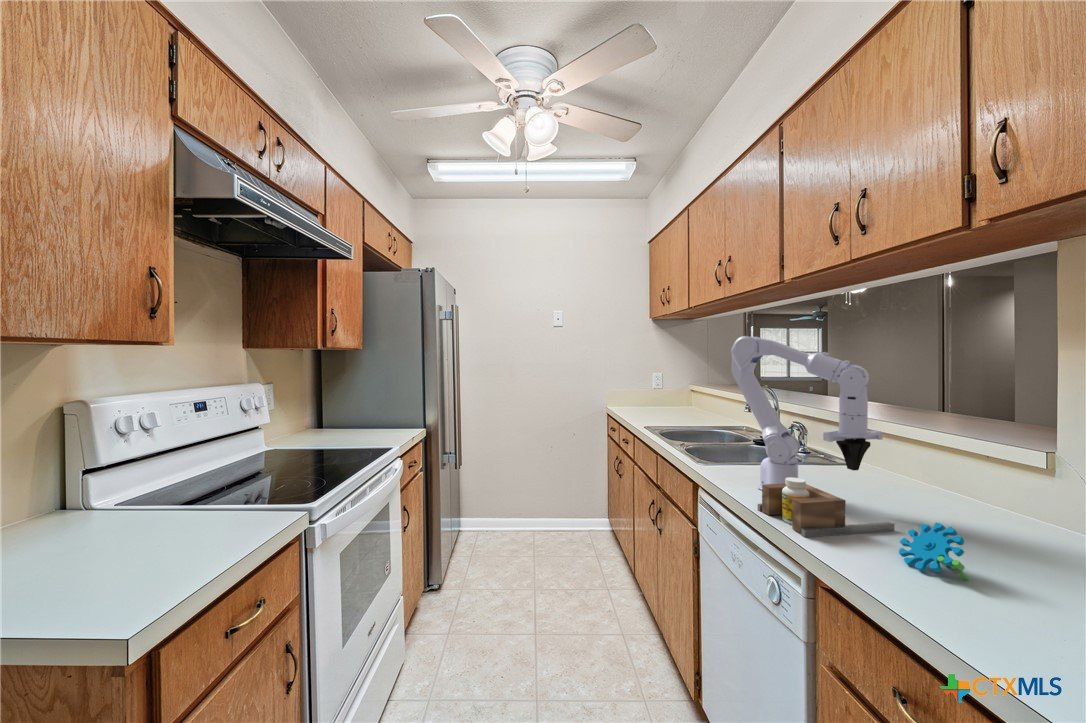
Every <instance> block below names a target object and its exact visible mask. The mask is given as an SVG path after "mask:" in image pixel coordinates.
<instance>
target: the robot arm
mask: <svg viewBox="0 0 1086 723" xmlns="http://www.w3.org/2000/svg"><path fill="white" fill-rule="evenodd" d="M730 354H731V375H732V376H733V379H734V380H735V382H736V384H737V386H738V388H739V390H740V392H741V393H742V396H743V397H744V399H745V401H746V402H747V404H748V406H749V408H750V410H751V413H752V414H753V416H754V418H755V420H756V421H757V424H758V425H759V427H760V429H761V431H762V436H761V437H762V440H763V442H764V446H765V453H766V455H767V457H765V458H763V459H762V461H761V463H760V466H759V467H760V468H759V471H760V472H759V478H760V480H759V485H757V486H756V487H757V489H759V490H761V491H762V484H781V483H785V479H786V478H789V477H793V478H799V460H798V459H797V454H798V453H799V451H800V450H801V445H800V442H799V440H798V439H797V438H796V437H795V436H794V435H792V434H791V432H790V431H789V429H788V427H787V426H785V425H784V423H782V422H781V420H780V419H779V416H778V415H777V413H776V411H775V410H774V408H773V406H772V404H771V402H770V401H769V399H768V397H767V395H766V393H765V391H764V390H763V388H762V386H761V384H760V382H759V380H758V379H757V377H756V375H755V373H754V371H755V368H756V366H757V364H758V362H759V361H760V360H761V359H762V357H765V356H776V357H778V358H781V359H784V360H787V361H790V362H793V363H796V364H798V365H801V366H803V367H804V368H805V369H806V372H807V373H809V374H811V375H812V376H813V375H814V376H816V377H819V378H822V379H823V380H827V381H828V382H830V383H831V382H832V383H836V382H837V384H838V385H839V391H840V392H839V395H838V396H839V397H838V398H839V400H838V404H839V406H838V410H839V411H838V412H839V413H838V416H839V417H838V430H833V431H827V432H823V435H822V437H823V441H826V442H829V443H833V442H836V444H837V446H838V447H839V449H840V451H841V453H842V455H843V459H844V461H845V464H846V465H845V466H846V468H847V469H848V470H850V471H859V469H860V466H861V463H862V461H863V459H864V455H866V453H867V451H868V450H869V448H870V447H871V442H870V441H869V440H883V431H881V430H880V431H879V430H868V415H869V414H868V410H869V409H868V408H869V407H868V406H869V405H868V403H869V401H868V398H869V397H868V388H867V386H866V385H867V384H868V382H869V381H870V380H869V378H870V374H869V371H868V370H867V369H865V368H864V367H862V366H860V365H859V364H850V363H851V361H850V360H842V359H839V358H835V357H832V356H830V353H829V352H827V351H823V352H822V353H821V352H819V351H818V352H815V353H812V354H809V353H807V352H804V351H802V350H799V349H797V348H794V347H792V346H789V345H786V344H784V343H781V342H779V341H776V340H772V339H766V338H762V337H759V336H748V335H743V336H740V337H738V338H737V339H736V340H735V341H734V342H733V345H732V347H731V350H730Z"/></svg>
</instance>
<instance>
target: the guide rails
mask: <svg viewBox="0 0 1086 723" xmlns="http://www.w3.org/2000/svg"><path fill="white" fill-rule="evenodd" d="M757 511H759V512H762V503H757ZM894 531H895V523H893V522H890V521H889V522H872V523H859V524H845V525H842V526H828V527H813V528H801V533H800V534H801V536H802V537H803V538H813V537H815V538H816V537H828V536H829V537H830V536H840V535H842V536H843V535H854V534H870V533H883V532H884V533H885V532H894Z"/></svg>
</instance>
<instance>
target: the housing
mask: <svg viewBox="0 0 1086 723" xmlns="http://www.w3.org/2000/svg"><path fill="white" fill-rule="evenodd" d="M786 486H787V485H786V484H785V483H781V484H762V490H761V504H762V511H761V512H763V513H765V514H766V515H767V516H777V515H782V489H783V488H784V487H786ZM804 489H806V490H807V491H808V492H809V498H801V499H792V524H791V525H792V527H791V528H792V530H794V531H796V532H797V533H800V534H801V528H813V527H828V526H842V525H846V499H843V498H841V497H839V496H836V495H833V494H831V493H829V492H827V491H824V490H821V489H819V488H816V487H815V486H812V485H809V484H808V483H806V486H805V488H804Z"/></svg>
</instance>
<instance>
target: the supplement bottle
mask: <svg viewBox="0 0 1086 723" xmlns="http://www.w3.org/2000/svg"><path fill="white" fill-rule="evenodd" d="M785 484H786V485H787V486H786V487H784V488H783V489H782V514H781V515H782V520H783V521H784V522H785V523H787V524H789V525H792V499H801V498H809V492H808V491H807V490H806V489H804V488H805V486H806V484H807V482H806V480H805V479H803V478H800V477H798V478H793V477H789V478H786V479H785Z"/></svg>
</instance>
